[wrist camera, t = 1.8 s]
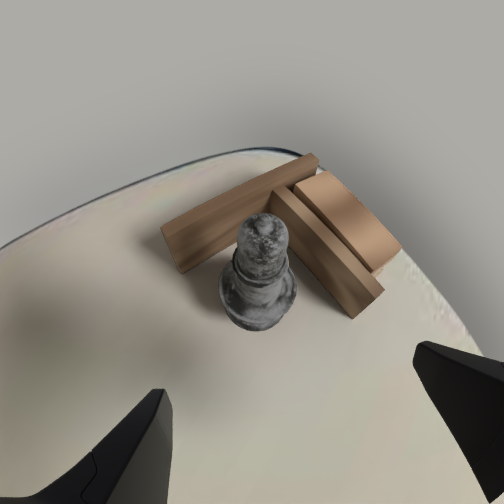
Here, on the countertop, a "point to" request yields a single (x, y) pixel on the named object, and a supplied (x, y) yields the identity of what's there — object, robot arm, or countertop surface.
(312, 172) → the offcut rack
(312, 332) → the countertop surface
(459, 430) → the robot arm
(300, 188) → the teak offcut
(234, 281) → the grey rounded upright piece
